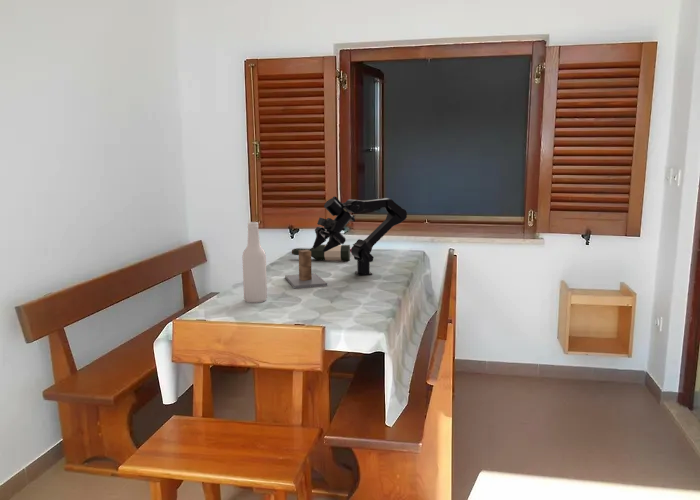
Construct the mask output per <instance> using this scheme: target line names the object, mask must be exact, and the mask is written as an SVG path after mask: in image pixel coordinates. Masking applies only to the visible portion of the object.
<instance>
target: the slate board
mask: <svg viewBox="0 0 700 500" xmlns="http://www.w3.org/2000/svg"><path fill="white" fill-rule="evenodd" d="M311 273H312V272H311ZM284 276H285V277H284V278H285V280H286V281H287V282H288V283H289V284H290V285H291V286H292V288H293V289H307V288H319V287H327V286H328V282H327V281H325V280H324V279H323V278H321V276H319V275H318V273H315V272H314V273H312V280H305V281H303V280H301V279H299V273H298V274H287V275H284Z"/></svg>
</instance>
